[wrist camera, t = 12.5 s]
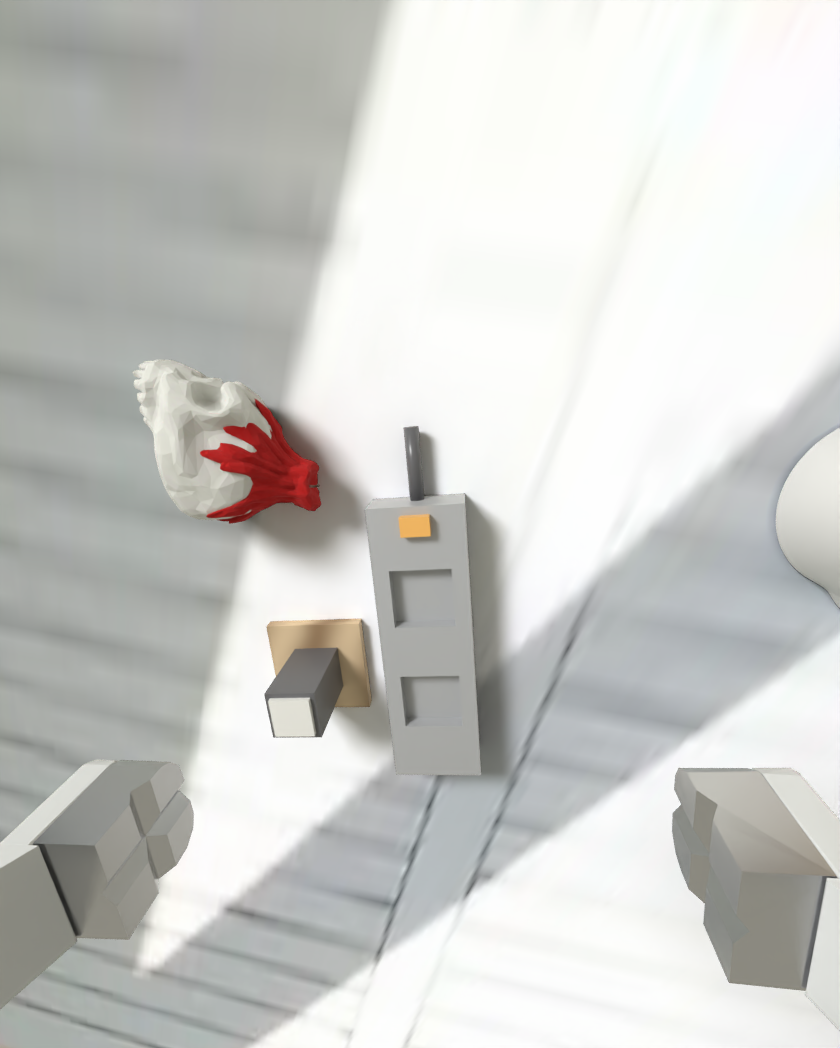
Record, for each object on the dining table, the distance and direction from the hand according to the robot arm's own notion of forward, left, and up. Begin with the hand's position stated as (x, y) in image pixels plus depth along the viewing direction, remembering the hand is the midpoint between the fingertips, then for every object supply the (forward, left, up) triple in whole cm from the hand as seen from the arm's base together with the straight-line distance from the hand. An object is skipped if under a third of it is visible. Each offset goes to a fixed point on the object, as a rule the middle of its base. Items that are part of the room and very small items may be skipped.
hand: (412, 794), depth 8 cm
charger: (+14, +18, -32) cm, 40 cm away
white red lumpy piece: (+17, -3, -34) cm, 38 cm away
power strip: (+3, +12, -33) cm, 35 cm away
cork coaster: (+14, +18, -33) cm, 40 cm away
